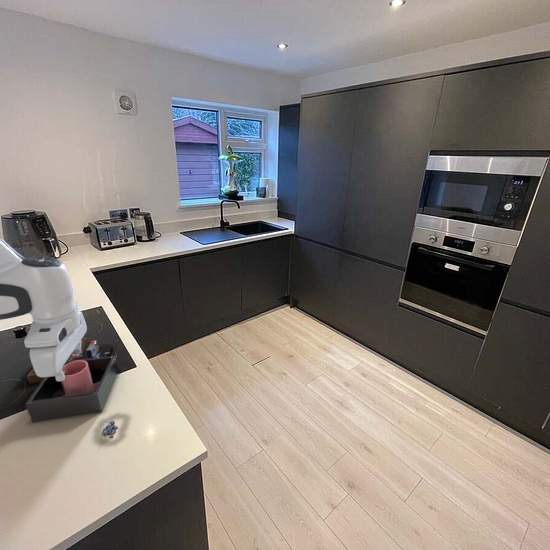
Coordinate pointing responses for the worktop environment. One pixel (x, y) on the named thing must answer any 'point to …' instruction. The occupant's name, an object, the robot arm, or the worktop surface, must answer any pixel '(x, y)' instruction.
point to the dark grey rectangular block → (92, 349)
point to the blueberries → (110, 429)
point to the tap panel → (102, 352)
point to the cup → (77, 378)
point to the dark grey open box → (69, 406)
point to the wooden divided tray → (35, 379)
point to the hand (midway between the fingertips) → (70, 366)
